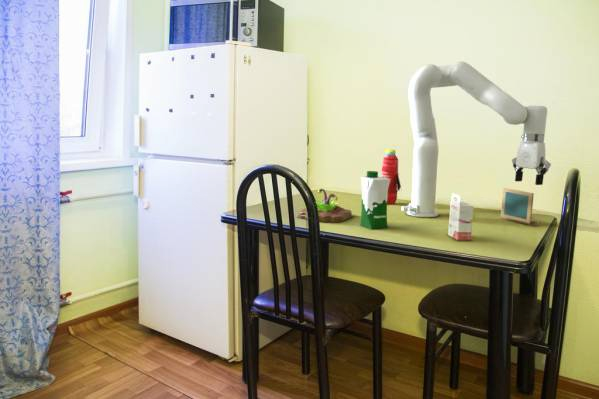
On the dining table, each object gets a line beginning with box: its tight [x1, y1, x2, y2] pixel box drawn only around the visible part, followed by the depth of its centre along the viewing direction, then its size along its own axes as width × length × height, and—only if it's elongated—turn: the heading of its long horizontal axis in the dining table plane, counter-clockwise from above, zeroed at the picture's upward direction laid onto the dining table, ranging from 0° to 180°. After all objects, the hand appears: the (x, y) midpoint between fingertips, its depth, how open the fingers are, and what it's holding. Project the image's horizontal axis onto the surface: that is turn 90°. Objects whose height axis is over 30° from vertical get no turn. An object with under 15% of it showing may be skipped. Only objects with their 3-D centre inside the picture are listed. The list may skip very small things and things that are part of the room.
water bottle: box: [381, 148, 402, 205], centre depth 229 cm, size 12×8×25 cm, turn 36°
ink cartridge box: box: [447, 192, 474, 241], centre depth 167 cm, size 9×5×15 cm, turn 5°
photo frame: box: [500, 187, 535, 223], centre depth 194 cm, size 12×14×5 cm
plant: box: [297, 188, 353, 223], centre depth 199 cm, size 20×20×11 cm
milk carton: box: [360, 170, 390, 230], centre depth 182 cm, size 9×9×20 cm
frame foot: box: [501, 217, 539, 227], centre depth 195 cm, size 2×15×2 cm, turn 24°
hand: (528, 182), depth 195 cm, fingers open, 9 cm apart
